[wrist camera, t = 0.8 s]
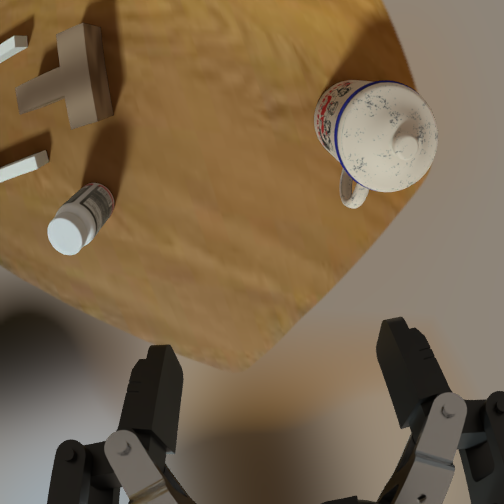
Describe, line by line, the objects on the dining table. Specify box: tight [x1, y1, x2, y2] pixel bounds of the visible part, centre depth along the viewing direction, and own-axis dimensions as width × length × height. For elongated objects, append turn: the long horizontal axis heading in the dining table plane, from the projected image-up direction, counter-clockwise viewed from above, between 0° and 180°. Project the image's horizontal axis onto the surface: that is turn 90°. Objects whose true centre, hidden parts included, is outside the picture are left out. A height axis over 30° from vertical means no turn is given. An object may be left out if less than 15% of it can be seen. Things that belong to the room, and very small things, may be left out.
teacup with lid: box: [314, 80, 438, 208], centre depth 24 cm, size 12×9×12 cm
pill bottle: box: [48, 183, 114, 255], centre depth 28 cm, size 5×5×8 cm
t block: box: [15, 23, 114, 130], centre depth 23 cm, size 10×9×4 cm
